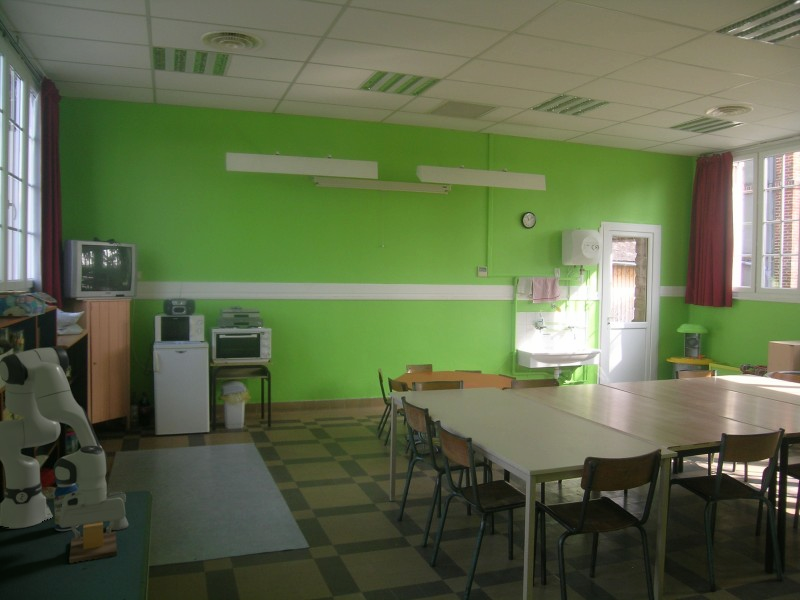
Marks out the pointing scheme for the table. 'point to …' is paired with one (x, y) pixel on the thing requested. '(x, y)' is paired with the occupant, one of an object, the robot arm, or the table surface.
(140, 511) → the table surface
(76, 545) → the walnut post base
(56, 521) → the beverage bottle
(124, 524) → the flask
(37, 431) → the robot arm
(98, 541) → the mustard brick
